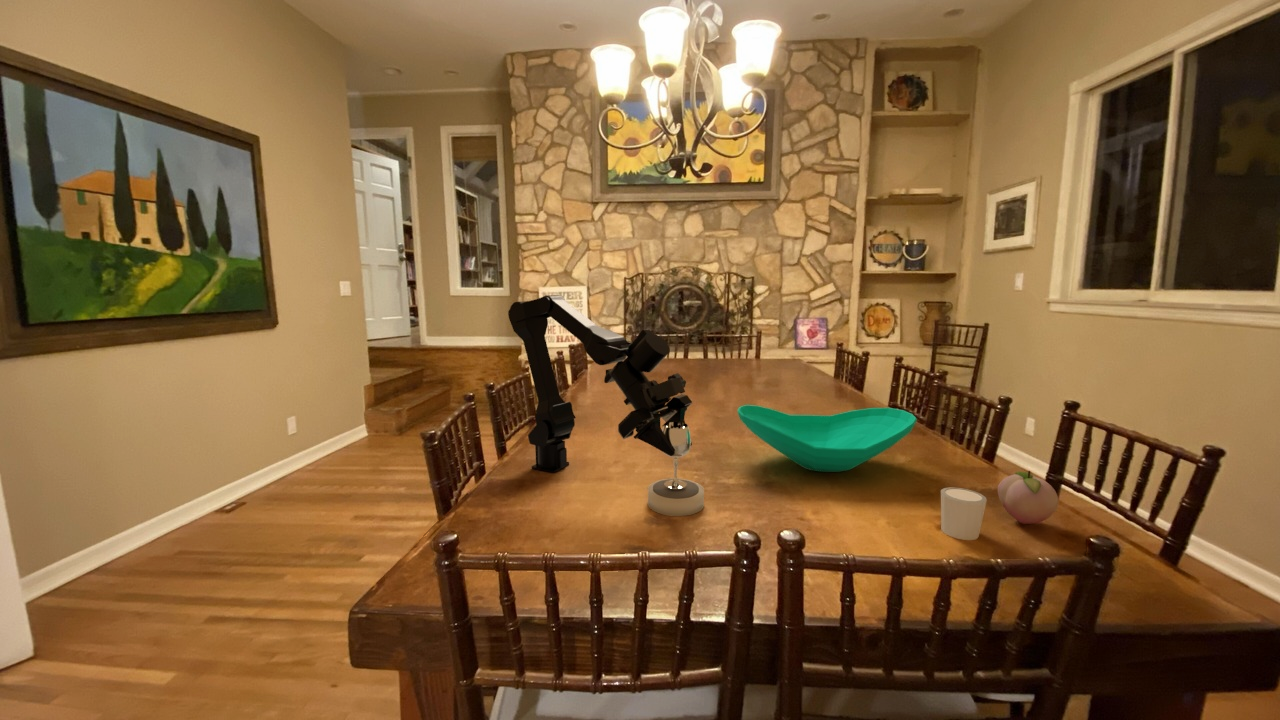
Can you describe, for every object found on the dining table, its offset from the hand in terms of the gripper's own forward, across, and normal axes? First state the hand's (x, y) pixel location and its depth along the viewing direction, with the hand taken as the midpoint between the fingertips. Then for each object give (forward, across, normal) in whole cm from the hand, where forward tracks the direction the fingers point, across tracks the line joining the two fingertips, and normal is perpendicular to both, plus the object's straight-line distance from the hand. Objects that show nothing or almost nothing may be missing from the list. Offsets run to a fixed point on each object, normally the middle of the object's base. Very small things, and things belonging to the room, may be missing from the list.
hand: (681, 450), depth 101 cm
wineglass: (+4, 0, +6) cm, 8 cm away
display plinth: (+7, 0, +9) cm, 11 cm away
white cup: (+40, +19, -24) cm, 50 cm away
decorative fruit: (+46, +30, -31) cm, 63 cm away
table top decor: (+19, +37, -3) cm, 42 cm away
